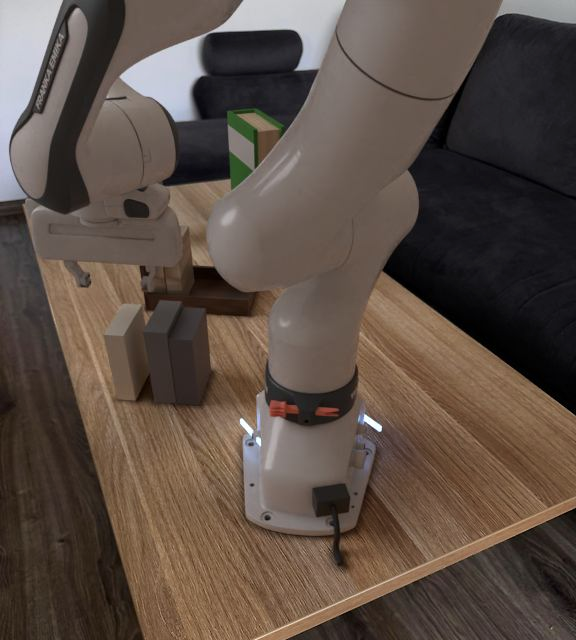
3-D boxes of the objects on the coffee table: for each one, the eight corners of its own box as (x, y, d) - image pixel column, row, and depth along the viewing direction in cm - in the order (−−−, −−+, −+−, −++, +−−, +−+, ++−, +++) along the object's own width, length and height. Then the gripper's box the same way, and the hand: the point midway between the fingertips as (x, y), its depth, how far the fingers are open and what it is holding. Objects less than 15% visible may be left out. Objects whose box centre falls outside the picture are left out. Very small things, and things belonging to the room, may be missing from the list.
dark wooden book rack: (258, 284, 122) (257, 223, 114) (248, 316, 112) (246, 252, 104) (164, 278, 124) (156, 218, 116) (146, 310, 114) (135, 247, 106)
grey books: (211, 371, 98) (205, 302, 90) (199, 405, 91) (191, 334, 83) (169, 368, 99) (159, 299, 91) (154, 402, 92) (142, 331, 84)
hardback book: (284, 230, 144) (285, 126, 129) (256, 235, 142) (253, 129, 127) (258, 205, 157) (256, 108, 142) (232, 209, 154) (227, 111, 140)
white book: (152, 367, 99) (142, 304, 92) (135, 400, 92) (123, 335, 84) (134, 365, 99) (123, 303, 92) (117, 399, 92) (102, 334, 85)
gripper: (10, 198, 75) (37, 294, 83) (169, 207, 73) (179, 304, 82) (32, 180, 80) (55, 273, 88) (181, 189, 78) (190, 282, 87)
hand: (116, 288), depth 85 cm, fingers open, 8 cm apart
